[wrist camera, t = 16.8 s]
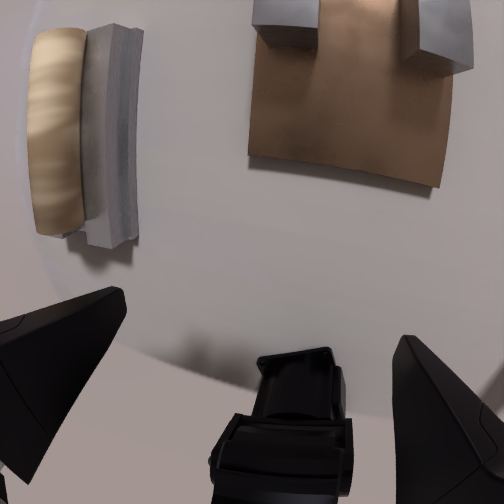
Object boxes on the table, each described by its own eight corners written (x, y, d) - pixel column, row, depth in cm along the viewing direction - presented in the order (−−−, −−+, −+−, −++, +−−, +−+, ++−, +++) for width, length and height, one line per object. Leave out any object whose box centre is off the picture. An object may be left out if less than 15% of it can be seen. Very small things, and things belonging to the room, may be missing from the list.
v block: (138, 235, 23) (117, 250, 20) (63, 222, 24) (42, 234, 21) (143, 30, 16) (119, 21, 13) (61, 53, 17) (37, 51, 15)
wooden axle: (95, 219, 20) (58, 238, 17) (62, 214, 21) (27, 231, 17) (98, 33, 14) (57, 24, 11) (62, 45, 15) (23, 42, 11)
